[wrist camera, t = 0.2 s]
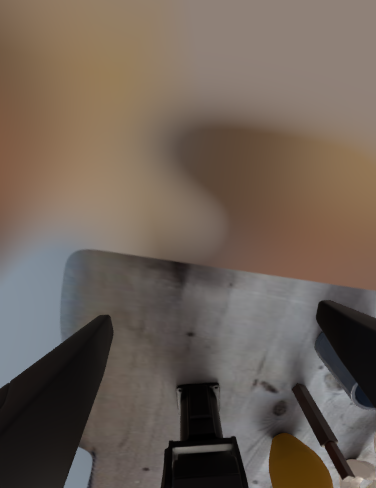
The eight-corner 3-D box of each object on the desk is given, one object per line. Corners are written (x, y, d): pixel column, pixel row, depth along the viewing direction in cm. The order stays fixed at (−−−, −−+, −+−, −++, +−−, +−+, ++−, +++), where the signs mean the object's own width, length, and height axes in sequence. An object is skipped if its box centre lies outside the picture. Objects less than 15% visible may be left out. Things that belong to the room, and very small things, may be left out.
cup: (361, 359, 30) (407, 407, 24) (310, 363, 30) (344, 412, 24) (374, 318, 27) (430, 360, 21) (319, 321, 27) (360, 364, 21)
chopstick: (305, 386, 31) (359, 476, 22) (299, 392, 32) (349, 484, 22) (297, 383, 31) (348, 473, 22) (291, 389, 32) (338, 481, 22)
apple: (317, 425, 35) (361, 505, 26) (293, 454, 38) (326, 535, 29) (272, 416, 34) (303, 498, 25) (250, 447, 36) (271, 530, 28)
